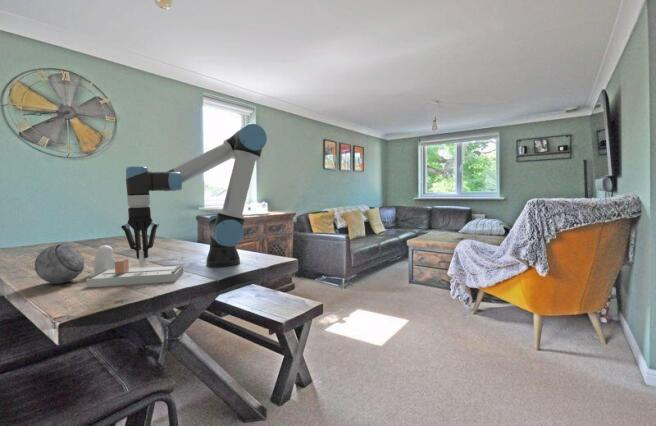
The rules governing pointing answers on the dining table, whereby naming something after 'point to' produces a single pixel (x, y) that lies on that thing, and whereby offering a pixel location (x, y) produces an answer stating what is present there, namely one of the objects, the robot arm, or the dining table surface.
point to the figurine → (104, 259)
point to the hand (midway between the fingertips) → (143, 266)
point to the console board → (135, 276)
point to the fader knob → (121, 266)
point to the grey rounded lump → (59, 263)
